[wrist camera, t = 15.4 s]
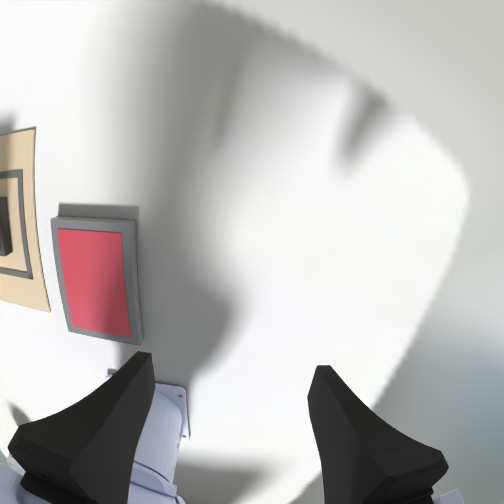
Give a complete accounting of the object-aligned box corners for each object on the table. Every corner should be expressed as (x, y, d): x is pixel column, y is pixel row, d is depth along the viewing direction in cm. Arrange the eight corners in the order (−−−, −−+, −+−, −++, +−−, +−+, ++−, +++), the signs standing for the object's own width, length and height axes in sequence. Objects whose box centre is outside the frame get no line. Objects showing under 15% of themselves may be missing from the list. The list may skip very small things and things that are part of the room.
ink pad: (143, 338, 23) (139, 345, 22) (73, 325, 22) (68, 331, 21) (135, 220, 20) (130, 224, 19) (57, 216, 19) (50, 219, 18)
